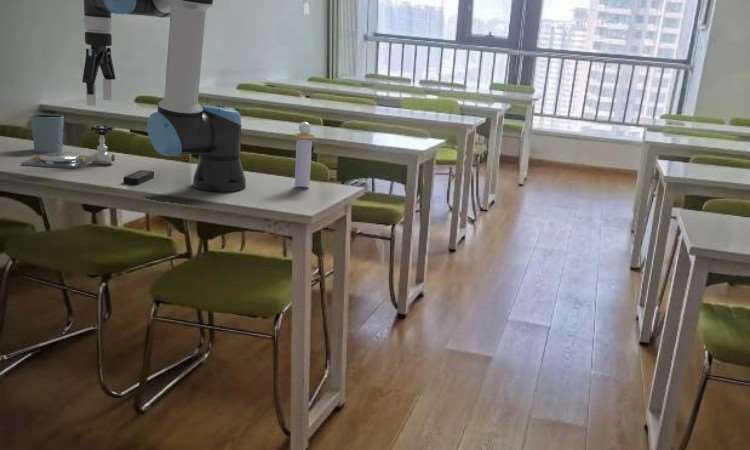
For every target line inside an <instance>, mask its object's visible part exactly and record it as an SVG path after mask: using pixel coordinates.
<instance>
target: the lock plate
mask: <svg viewBox="0 0 750 450" xmlns="http://www.w3.org/2000/svg"><path fill="white" fill-rule="evenodd" d="M90 162H91V160H90V155H78V154H76V153H72V152H71V151H64V152H62V151H61V152H56V153H41V154H37V153H35V154H33V155H32V158H29V159H28V160H25V161H22V162H21V166H23V167H24V166H27V167H40V168H41V167H43V168H56V169H57V168H58V169H59V168H60V169H71V170H73V169H75V170H77V169H78V168H80V167H82V166H85V165H86V164H88V163H90Z"/></svg>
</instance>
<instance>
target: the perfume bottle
mask: <svg viewBox="0 0 750 450" xmlns="http://www.w3.org/2000/svg"><path fill="white" fill-rule="evenodd" d="M311 130H312V126H311V124H310V123H309V122H308V121H302V122H301V123H300V124H299V125H298V131H299V132H298V133H297V132H296V133H295V134H294V137H295V138H299V139H300V140H299V139H298V140H296V147H295V148H296V149H295V166H294V167H295V168H294V169H295V170H294V186H296V187H299V188H306V187H310V184H311V182H310V181H311V166H312V165H311V164H312V154H314V144H313V142H312V141H311V140H308V139H314V138H315V134H312V133H310V132H311ZM301 139H302V140H301ZM304 139H307V140H304ZM307 185H309V186H307Z"/></svg>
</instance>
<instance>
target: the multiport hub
mask: <svg viewBox="0 0 750 450" xmlns="http://www.w3.org/2000/svg"><path fill="white" fill-rule="evenodd" d="M154 178H155V171H153V170H147V169H146V170H144V169H140V170H137V171H135V172H133V173H130V174H128V175H125V176H124V177H123V178H122V179H123V185H133V186H140V185H142V184H144V183H147V182H148V181H150V180H152V179H154Z"/></svg>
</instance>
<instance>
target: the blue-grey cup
mask: <svg viewBox="0 0 750 450" xmlns="http://www.w3.org/2000/svg"><path fill="white" fill-rule="evenodd" d="M29 118H30V124H31V125H30V126H31V127H30V128H31V129H32V131H31V133H32V139H33V149H34V152H36V153H41V154H43V153H56V152H62V151H63V140H64V132H63V130H64V124H65V123H64V122H65V120H64V119H65V115H62V114H58V113H45V112H44V113H43V112H42V113H39V112H38V113H32V114H30V115H29Z"/></svg>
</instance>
